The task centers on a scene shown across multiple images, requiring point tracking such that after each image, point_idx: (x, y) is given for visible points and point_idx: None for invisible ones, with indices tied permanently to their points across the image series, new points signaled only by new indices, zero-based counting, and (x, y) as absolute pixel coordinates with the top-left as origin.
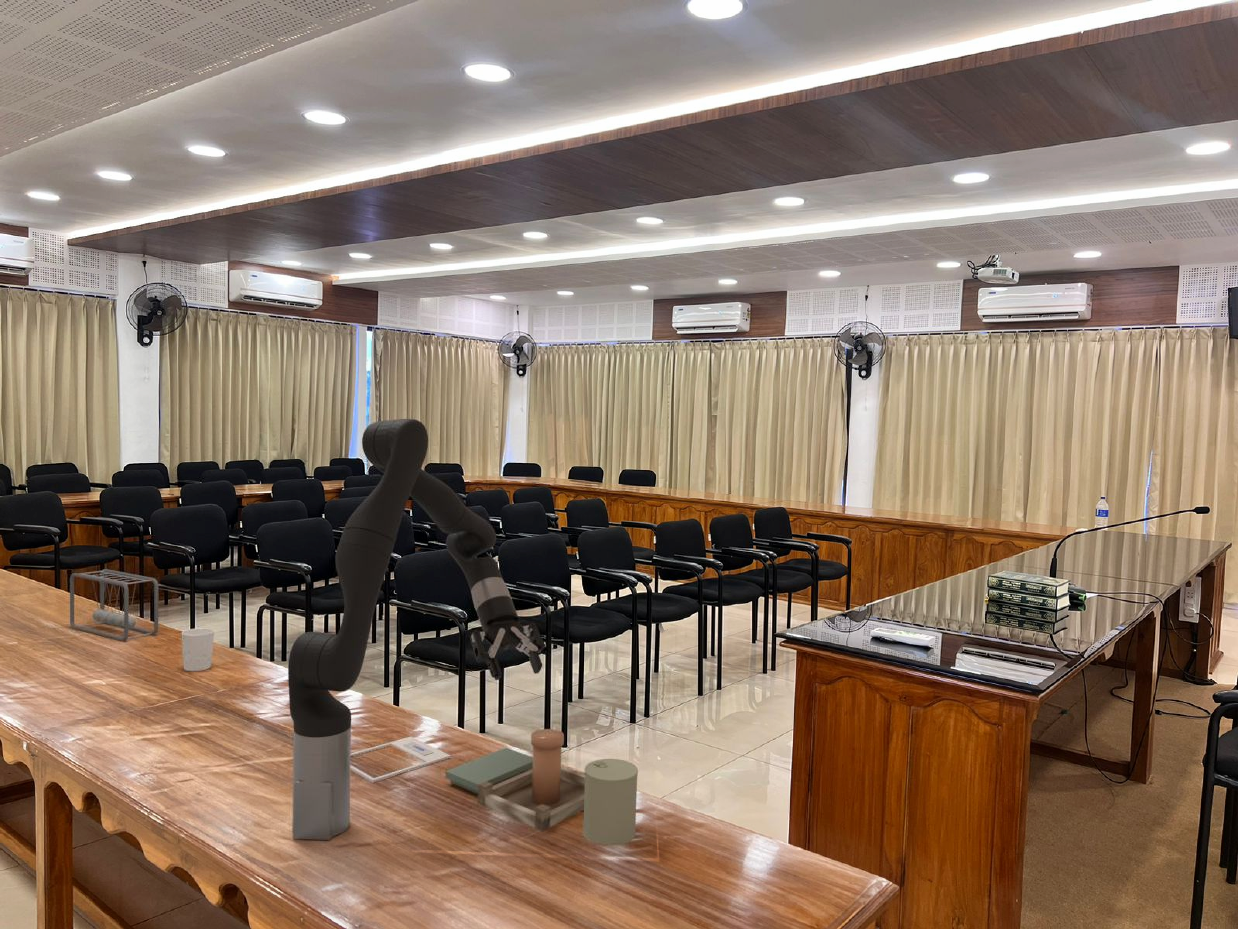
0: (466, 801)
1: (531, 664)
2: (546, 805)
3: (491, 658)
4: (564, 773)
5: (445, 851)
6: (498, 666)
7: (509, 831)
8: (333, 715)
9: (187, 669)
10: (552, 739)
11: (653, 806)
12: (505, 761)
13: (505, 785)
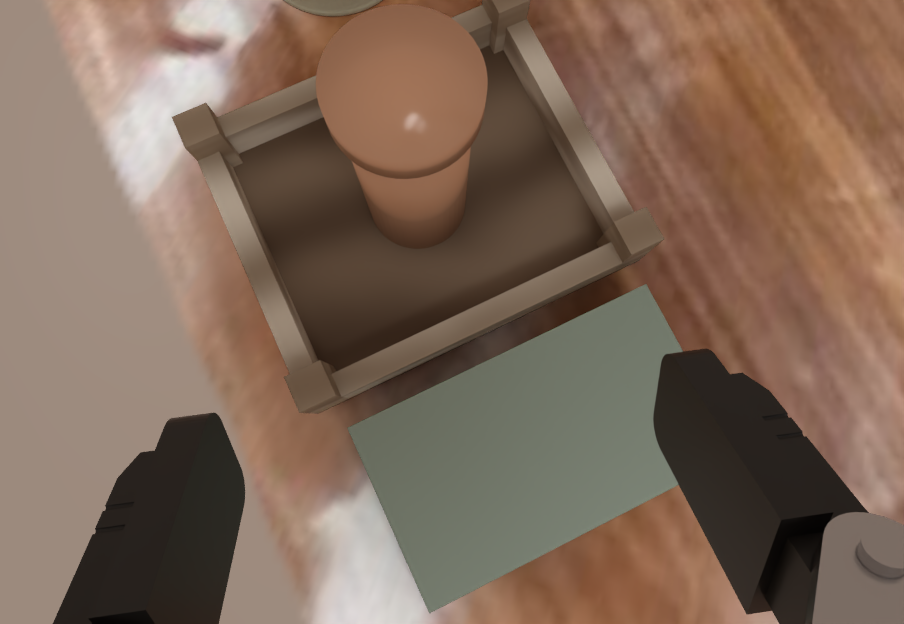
0: (665, 308)
1: (221, 582)
2: None
3: (863, 524)
4: (290, 307)
5: (790, 34)
6: (728, 414)
7: (592, 70)
8: None
9: None
10: (403, 17)
11: (116, 49)
12: (482, 458)
13: (541, 275)
